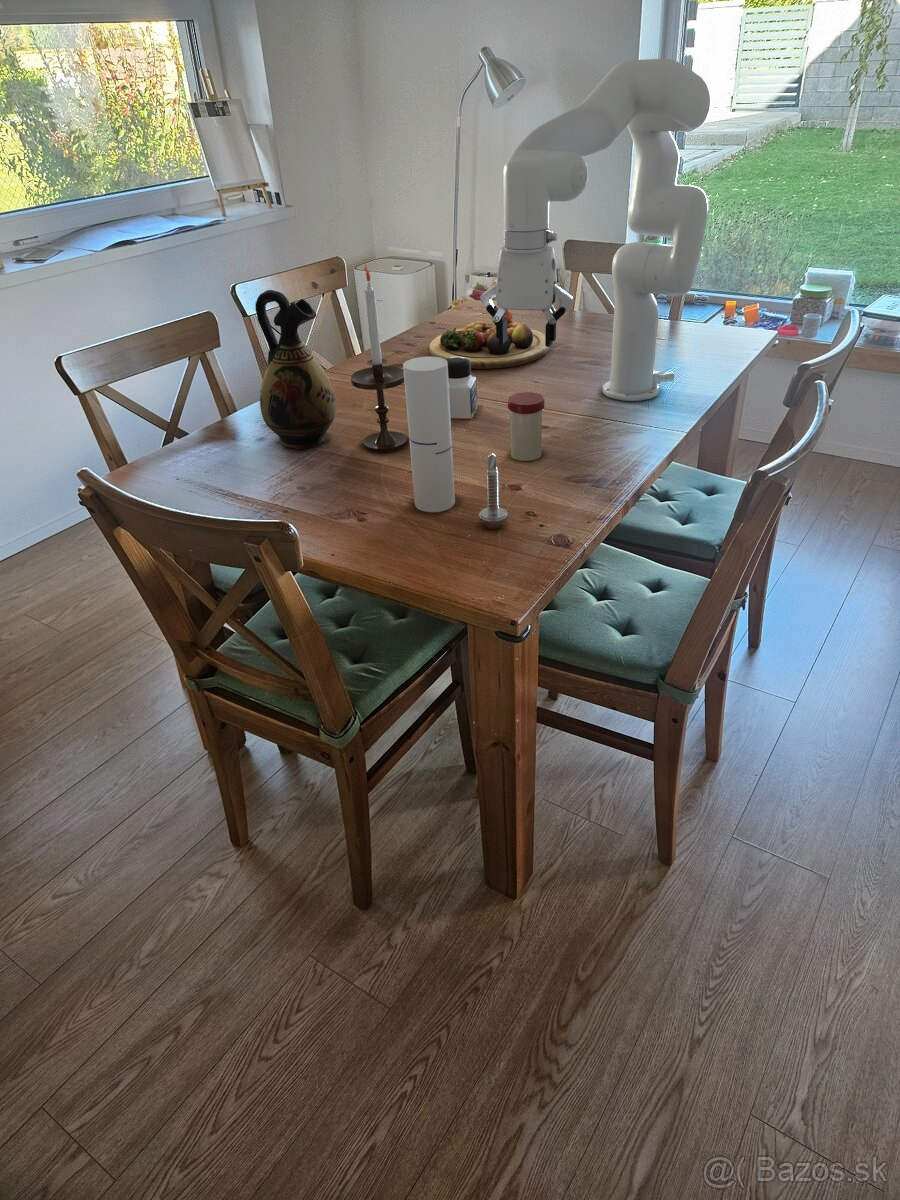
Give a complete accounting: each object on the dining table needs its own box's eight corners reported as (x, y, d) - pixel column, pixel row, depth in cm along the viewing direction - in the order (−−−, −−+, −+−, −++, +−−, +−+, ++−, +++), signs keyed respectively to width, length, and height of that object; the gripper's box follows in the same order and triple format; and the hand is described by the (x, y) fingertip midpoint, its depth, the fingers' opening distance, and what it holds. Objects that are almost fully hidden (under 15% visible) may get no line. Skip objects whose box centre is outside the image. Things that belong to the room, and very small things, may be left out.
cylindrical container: (413, 495, 148) (402, 358, 134) (453, 492, 148) (445, 355, 134) (415, 513, 142) (403, 372, 128) (456, 510, 142) (449, 368, 129)
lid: (538, 399, 158) (538, 390, 157) (548, 411, 153) (548, 402, 152) (504, 403, 157) (503, 394, 156) (513, 415, 152) (513, 406, 151)
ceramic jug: (352, 428, 176) (334, 283, 159) (320, 458, 164) (297, 304, 147) (282, 422, 181) (258, 281, 164) (246, 450, 169) (216, 300, 152)
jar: (536, 446, 163) (536, 393, 157) (545, 458, 158) (546, 404, 152) (507, 450, 162) (506, 397, 156) (515, 462, 158) (514, 408, 151)
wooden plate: (474, 327, 235) (473, 298, 231) (572, 342, 219) (573, 310, 214) (405, 359, 214) (402, 327, 210) (508, 378, 198) (507, 344, 193)
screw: (513, 523, 137) (495, 535, 135) (491, 515, 140) (473, 527, 137) (513, 451, 130) (494, 462, 127) (489, 445, 133) (470, 455, 130)
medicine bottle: (471, 419, 177) (469, 364, 170) (439, 418, 178) (436, 364, 172) (477, 407, 183) (475, 354, 176) (446, 406, 184) (443, 353, 178)
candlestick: (352, 440, 171) (330, 262, 151) (400, 429, 174) (385, 255, 155) (368, 458, 163) (347, 273, 143) (419, 447, 166) (405, 265, 146)
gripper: (581, 236, 139) (577, 339, 149) (483, 235, 144) (485, 335, 154) (572, 244, 133) (569, 352, 143) (470, 243, 138) (473, 347, 148)
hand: (525, 343), depth 148 cm, fingers open, 8 cm apart
